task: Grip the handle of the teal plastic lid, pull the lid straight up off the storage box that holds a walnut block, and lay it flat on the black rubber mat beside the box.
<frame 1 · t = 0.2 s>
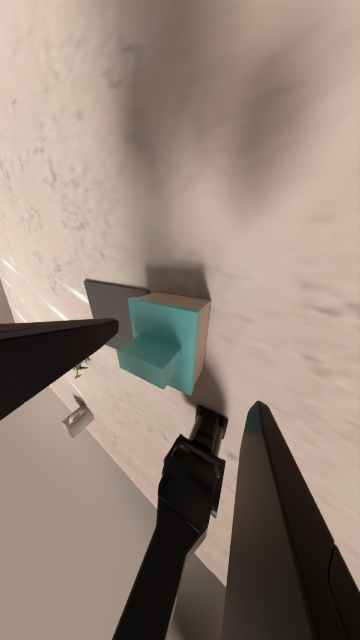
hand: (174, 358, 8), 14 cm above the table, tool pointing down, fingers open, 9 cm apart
lid: (167, 342, 22), point 4 cm above the table, touching storage box
storage box: (180, 330, 25), on the table
rubber mat: (119, 321, 33), on the table
coffee mug: (88, 410, 76), on the table
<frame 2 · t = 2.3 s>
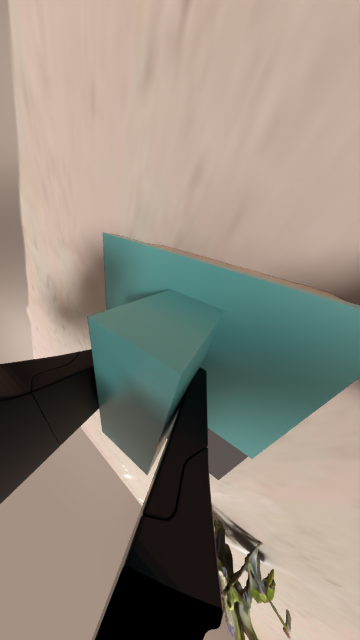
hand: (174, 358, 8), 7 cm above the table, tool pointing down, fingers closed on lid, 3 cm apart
lid: (193, 336, 10), point 4 cm above the table, touching gripper, storage box
storage box: (209, 317, 14), on the table
rubber mat: (188, 413, 21), on the table
passion flower: (241, 532, 27), on the table
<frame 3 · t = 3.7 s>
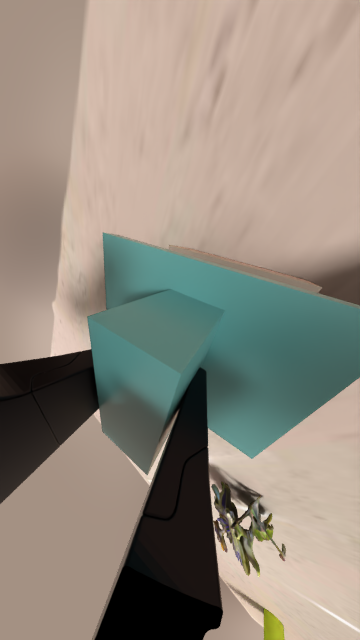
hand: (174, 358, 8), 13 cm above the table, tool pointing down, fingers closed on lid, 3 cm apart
lid: (193, 336, 10), point 10 cm above the table, touching gripper
storage box: (223, 301, 18), on the table
soap dispenser: (272, 615, 50), on the table
passion flower: (245, 490, 31), on the table
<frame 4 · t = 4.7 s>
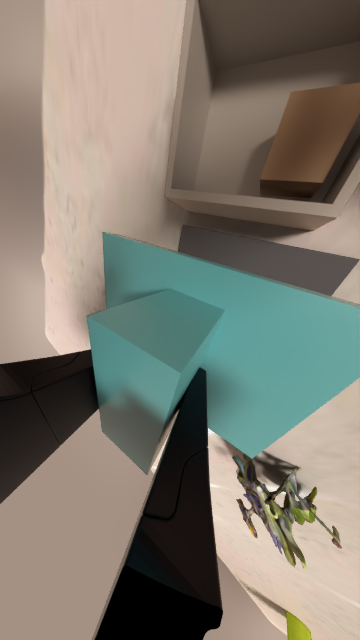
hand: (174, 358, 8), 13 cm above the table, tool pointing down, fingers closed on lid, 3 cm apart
walnut block: (297, 164, 11), point 1 cm above the table, touching storage box
lid: (193, 336, 10), point 10 cm above the table, touching gripper
storage box: (264, 151, 12), on the table
rubber mat: (222, 316, 19), on the table
soap dispenser: (296, 619, 43), on the table
passion flower: (274, 463, 25), on the table
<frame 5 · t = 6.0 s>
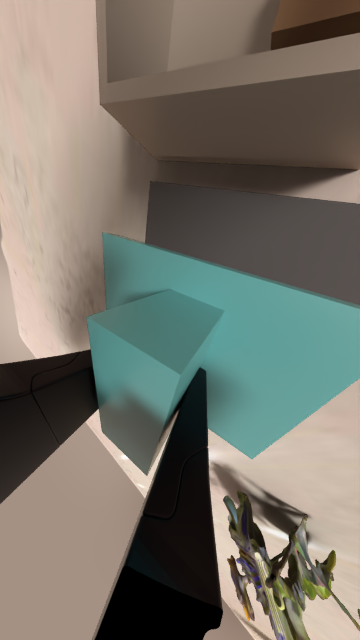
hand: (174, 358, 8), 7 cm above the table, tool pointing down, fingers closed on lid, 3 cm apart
walnut block: (342, 27, 6), point 1 cm above the table, touching storage box
lid: (193, 336, 10), point 5 cm above the table, touching gripper
storage box: (277, 21, 7), on the table
rubber mat: (210, 316, 14), on the table
passion flower: (275, 505, 20), on the table
when the fingers open (5 cm above the table, at t = 7.1 s): lid drops 2 cm, resting on rubber mat.
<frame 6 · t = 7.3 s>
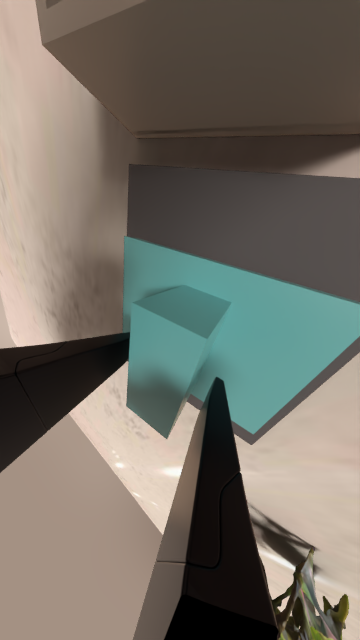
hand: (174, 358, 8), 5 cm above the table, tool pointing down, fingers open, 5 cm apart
lid: (201, 328, 12), point 1 cm above the table, touching rubber mat
rubber mat: (202, 325, 12), on the table
passion flower: (278, 531, 18), on the table
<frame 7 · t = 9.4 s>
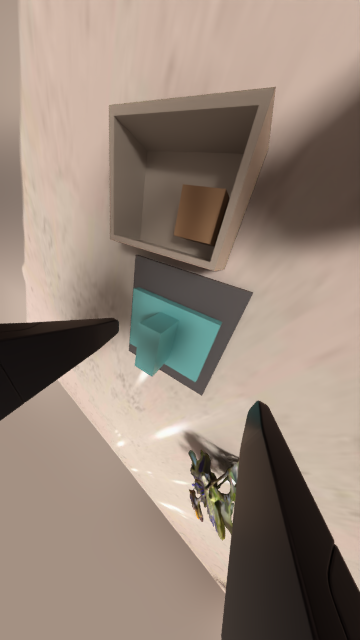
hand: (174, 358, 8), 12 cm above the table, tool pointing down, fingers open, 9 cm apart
walnut block: (206, 222, 15), point 1 cm above the table, touching storage box
lid: (171, 330, 23), point 1 cm above the table, touching rubber mat
storage box: (186, 209, 16), on the table
rubber mat: (173, 329, 23), on the table
passion flower: (225, 457, 29), on the table
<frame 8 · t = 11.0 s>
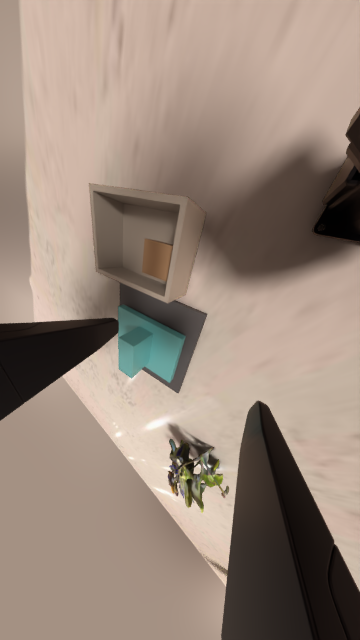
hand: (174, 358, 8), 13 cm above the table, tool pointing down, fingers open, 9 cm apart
walnut block: (168, 260, 19), point 1 cm above the table, touching storage box
lid: (151, 340, 27), point 1 cm above the table, touching rubber mat
storage box: (155, 247, 20), on the table
rubber mat: (153, 338, 28), on the table
passion flower: (201, 446, 33), on the table
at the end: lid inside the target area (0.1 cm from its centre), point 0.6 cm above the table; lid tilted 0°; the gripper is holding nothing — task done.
